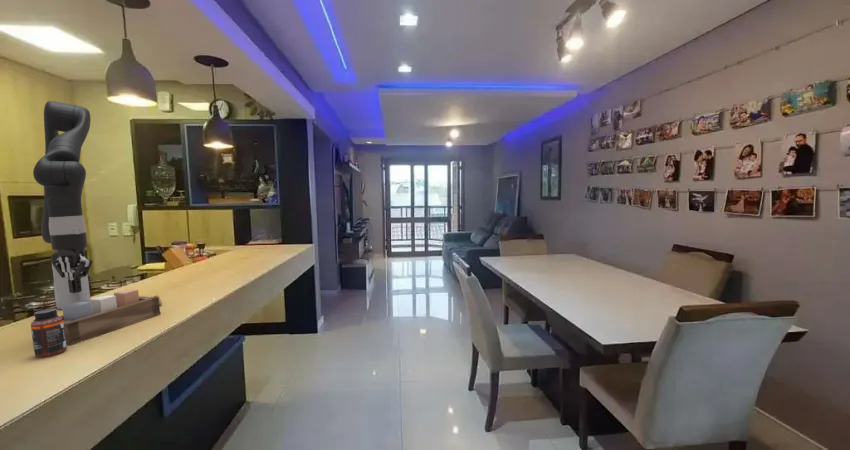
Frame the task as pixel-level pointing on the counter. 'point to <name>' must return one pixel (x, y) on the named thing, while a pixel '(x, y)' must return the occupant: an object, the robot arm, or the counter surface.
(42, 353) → the supplement bottle
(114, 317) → the brown wooden tray
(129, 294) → the pink block
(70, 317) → the slate key
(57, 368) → the counter surface
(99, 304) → the white block
